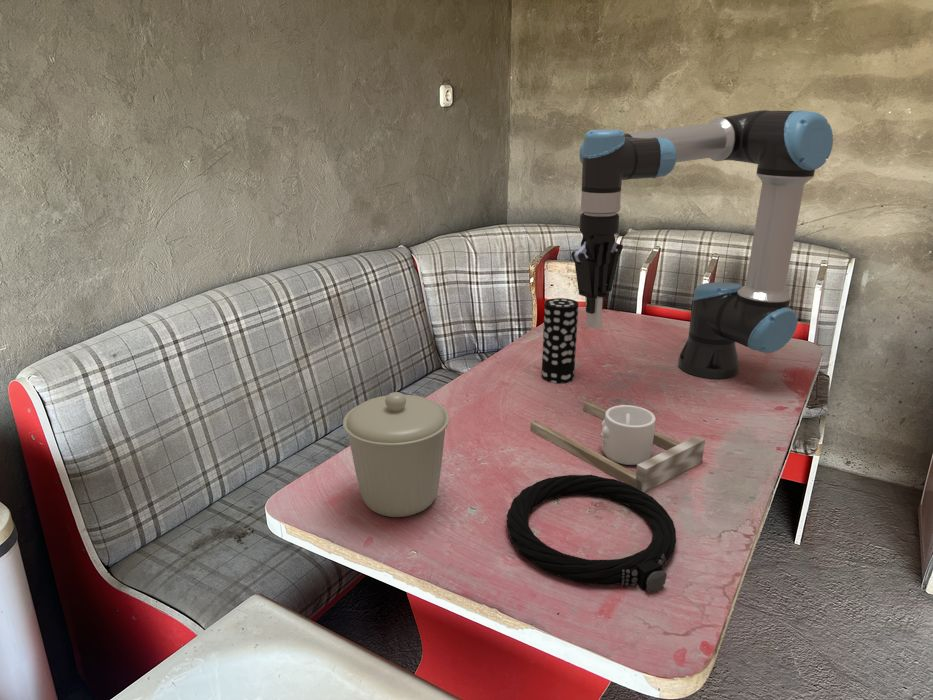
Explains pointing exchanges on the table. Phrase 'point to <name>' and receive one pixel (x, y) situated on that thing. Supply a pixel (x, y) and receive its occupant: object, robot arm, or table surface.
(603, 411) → the guide channel
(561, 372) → the spotted tube
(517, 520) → the cable lock
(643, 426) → the mug
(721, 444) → the table surface
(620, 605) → the table surface
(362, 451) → the canister
